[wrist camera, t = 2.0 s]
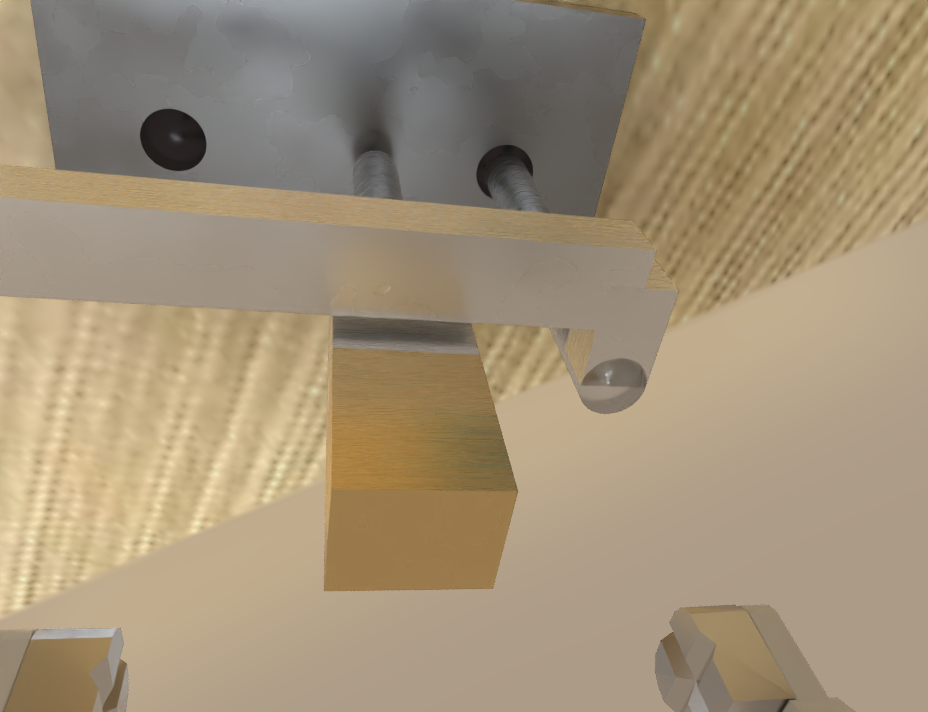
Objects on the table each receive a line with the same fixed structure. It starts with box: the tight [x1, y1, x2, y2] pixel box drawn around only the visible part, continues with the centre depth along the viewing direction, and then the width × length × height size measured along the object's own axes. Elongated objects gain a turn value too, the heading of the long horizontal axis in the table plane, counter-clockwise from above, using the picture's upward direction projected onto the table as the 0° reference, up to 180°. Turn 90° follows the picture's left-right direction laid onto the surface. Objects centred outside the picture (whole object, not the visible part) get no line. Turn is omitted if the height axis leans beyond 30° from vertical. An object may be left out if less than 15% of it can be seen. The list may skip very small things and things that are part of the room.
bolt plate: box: [31, 0, 646, 217], centre depth 28 cm, size 20×12×1 cm, turn 81°
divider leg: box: [324, 151, 518, 591], centre depth 20 cm, size 3×2×18 cm
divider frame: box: [0, 153, 679, 414], centre depth 21 cm, size 17×4×14 cm, turn 81°
